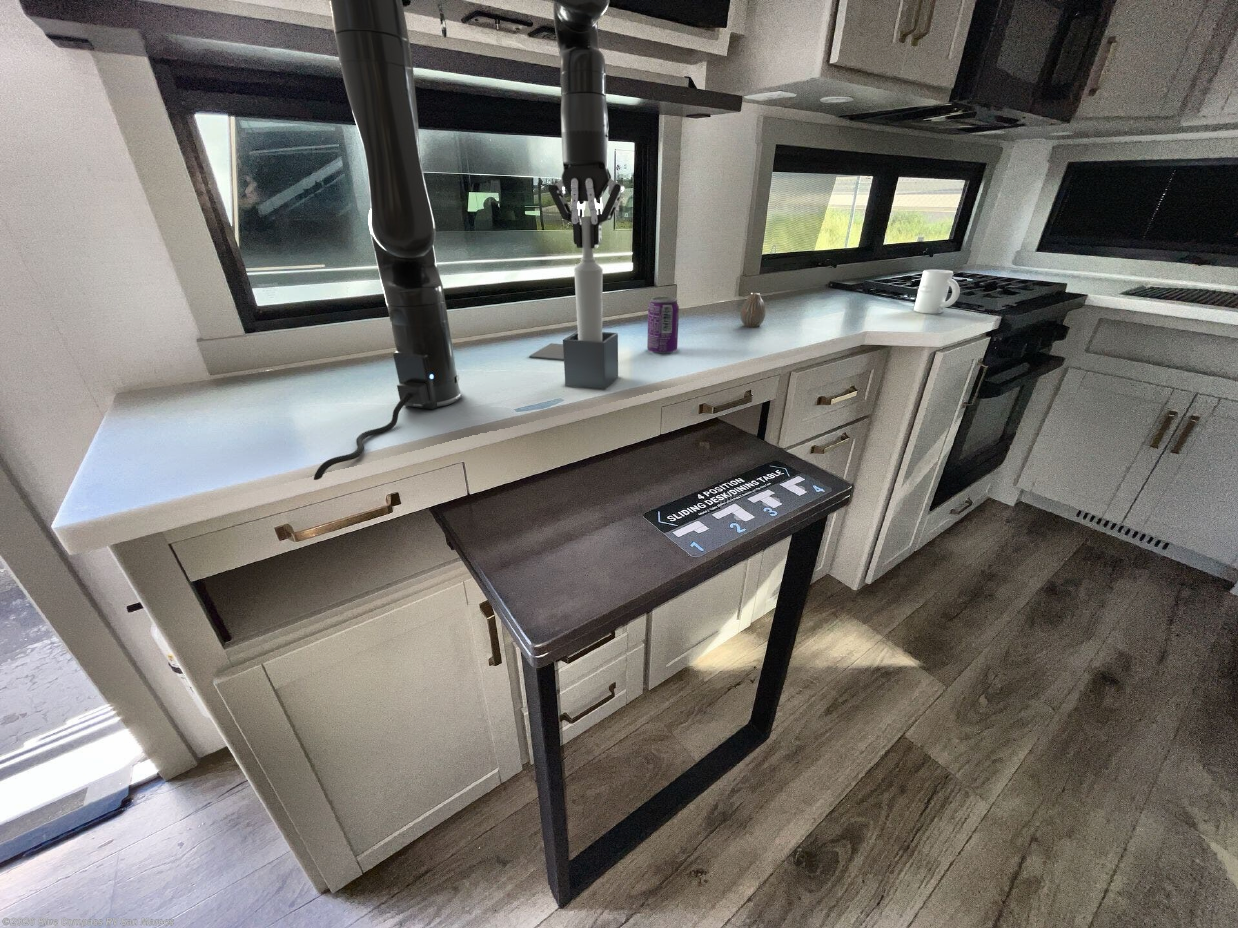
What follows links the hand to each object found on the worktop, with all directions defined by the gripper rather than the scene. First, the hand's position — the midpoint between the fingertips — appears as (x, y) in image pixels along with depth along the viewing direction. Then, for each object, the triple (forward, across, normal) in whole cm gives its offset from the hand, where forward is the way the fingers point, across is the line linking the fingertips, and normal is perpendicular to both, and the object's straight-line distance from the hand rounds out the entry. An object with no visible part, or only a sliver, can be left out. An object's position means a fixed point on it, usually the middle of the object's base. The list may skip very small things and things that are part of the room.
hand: (587, 247), depth 89 cm
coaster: (+25, -14, +18) cm, 34 cm away
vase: (+24, +26, +60) cm, 70 cm away
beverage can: (+25, +8, +26) cm, 37 cm away
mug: (+24, +79, +95) cm, 126 cm away
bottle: (+20, 0, 0) cm, 20 cm away
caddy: (+25, 0, 0) cm, 25 cm away
